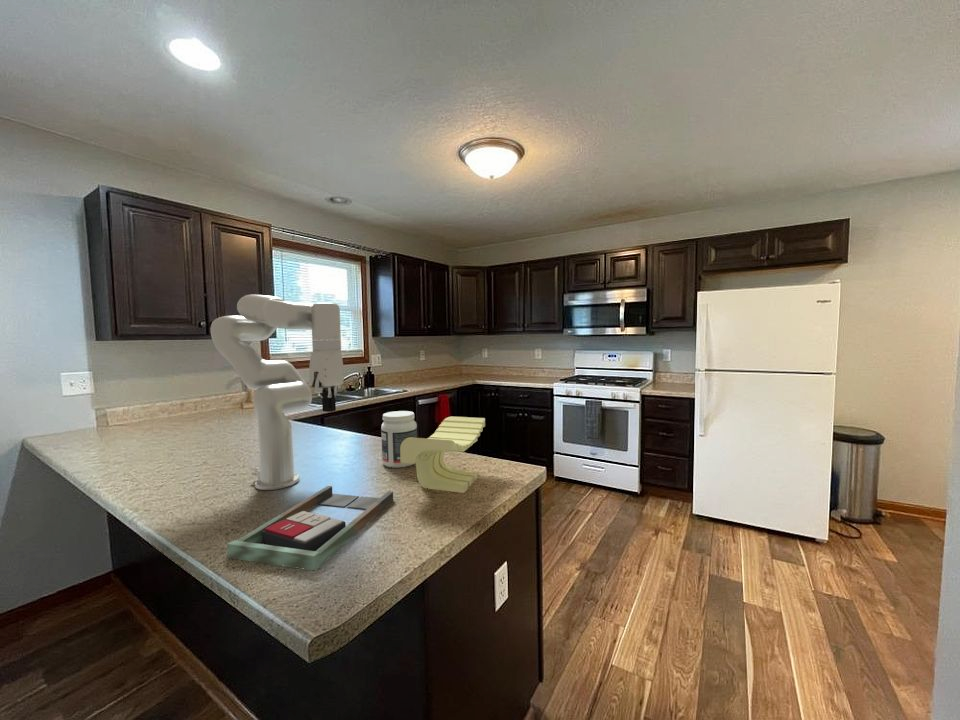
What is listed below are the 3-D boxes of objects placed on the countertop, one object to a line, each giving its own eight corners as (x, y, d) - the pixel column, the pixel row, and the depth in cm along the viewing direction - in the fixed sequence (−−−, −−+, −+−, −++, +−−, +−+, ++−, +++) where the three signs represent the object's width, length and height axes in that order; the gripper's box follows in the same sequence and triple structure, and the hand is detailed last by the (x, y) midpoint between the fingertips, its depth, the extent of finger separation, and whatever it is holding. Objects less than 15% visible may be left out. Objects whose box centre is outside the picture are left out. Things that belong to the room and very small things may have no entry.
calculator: (303, 508, 97) (346, 518, 89) (304, 525, 97) (347, 536, 90) (260, 528, 87) (304, 540, 80) (262, 546, 87) (306, 560, 80)
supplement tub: (423, 459, 146) (422, 410, 145) (409, 470, 134) (408, 417, 133) (391, 457, 149) (390, 409, 148) (375, 468, 137) (373, 416, 136)
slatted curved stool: (443, 464, 139) (442, 415, 138) (485, 469, 134) (485, 418, 133) (401, 498, 110) (399, 436, 109) (453, 504, 106) (452, 440, 105)
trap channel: (227, 557, 81) (227, 543, 81) (327, 494, 114) (327, 484, 114) (314, 570, 76) (314, 556, 76) (393, 500, 109) (393, 490, 109)
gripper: (331, 346, 117) (333, 406, 118) (297, 347, 103) (299, 415, 104) (353, 346, 116) (355, 406, 117) (321, 347, 101) (324, 416, 102)
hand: (329, 411), depth 110 cm, fingers closed
